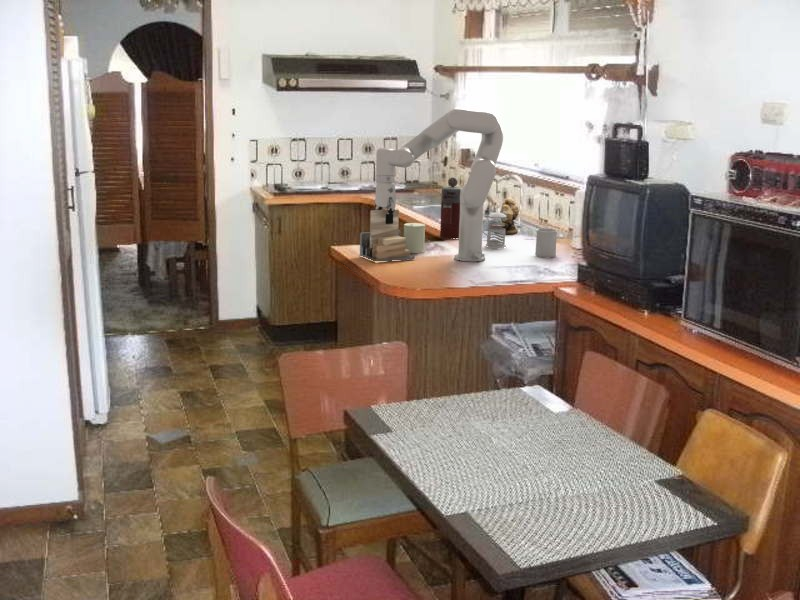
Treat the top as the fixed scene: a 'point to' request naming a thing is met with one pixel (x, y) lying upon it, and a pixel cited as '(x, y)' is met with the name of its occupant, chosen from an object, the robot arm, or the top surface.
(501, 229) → the french press
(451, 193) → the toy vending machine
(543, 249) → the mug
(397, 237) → the offcut top
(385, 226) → the birch panel
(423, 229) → the can
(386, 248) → the offcut middle
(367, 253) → the steel rack
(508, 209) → the tan bust sculpture
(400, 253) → the offcut bottom
